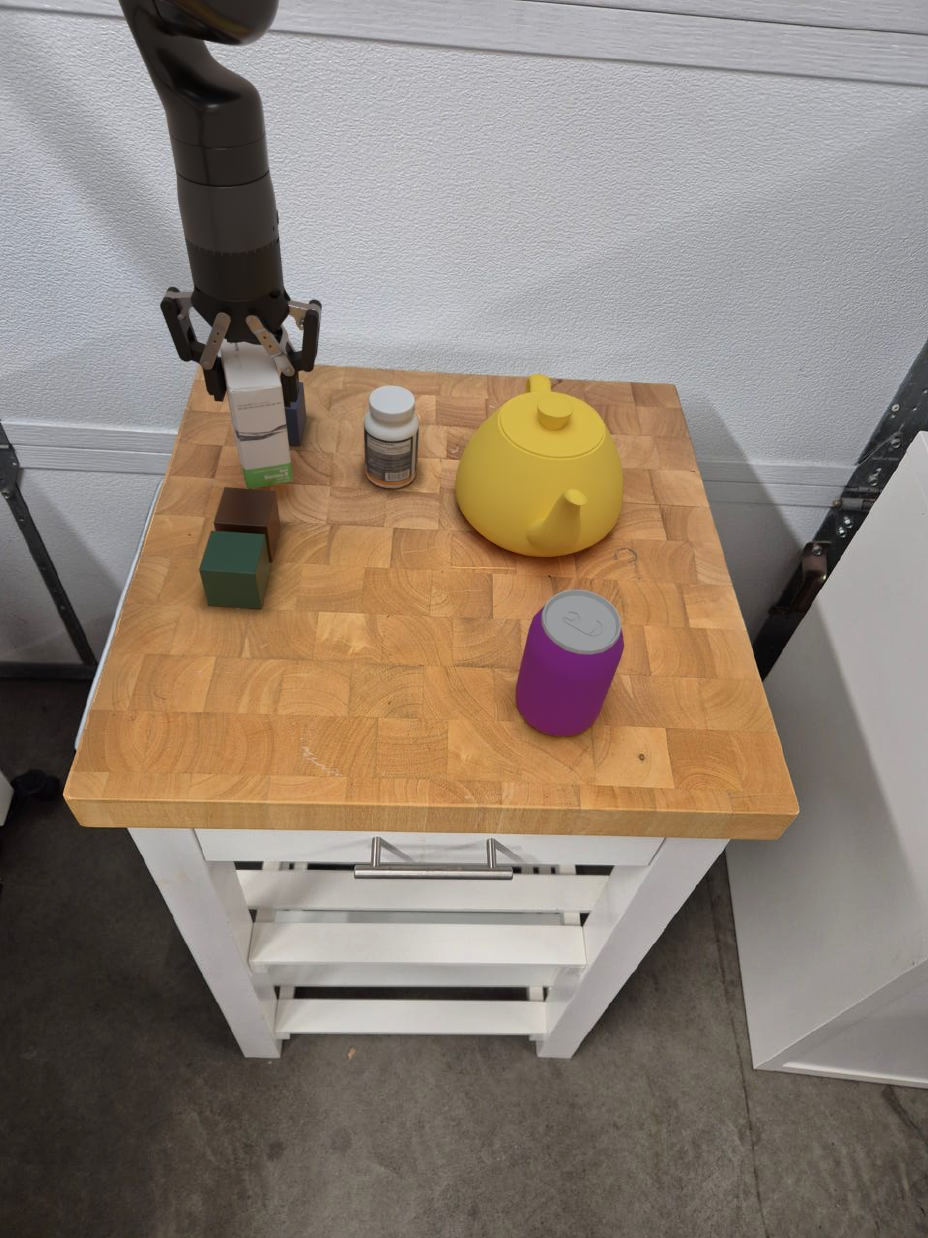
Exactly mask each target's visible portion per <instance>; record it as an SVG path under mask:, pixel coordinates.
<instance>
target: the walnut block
mask: <svg viewBox="0 0 928 1238" xmlns="http://www.w3.org/2000/svg"><path fill="white" fill-rule="evenodd" d="M213 526H214V531H224V532H238V533H252V534H264V535H265V538H266V544H267V551H268V557H269V563H273V562H274V558H275V555H276V554H275V553H276V550H277V545H278V541H279V537H280V533H281V528H282V526H281V519H280V510H279V503H278V496H277V491H276V490H270V489H259V488H252V489H248V488H246V487H245V488H243V487H231V486H230V487H229V486H224V488H223V491H222V494H221V497H220V501H219V503H218V507H217V510H216V513H215V516H214V519H213Z"/></svg>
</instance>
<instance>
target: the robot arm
mask: <svg viewBox="0 0 928 1238" xmlns="http://www.w3.org/2000/svg"><path fill="white" fill-rule="evenodd" d="M117 2H118V3H119V6H120V9H121V11H122V14H123V16H124V20H125V22H126V24H127V26H128V29H129V31H130V33H131V36H132V39H133V40H134V42H135V45H136V47H137V49H138V52H139V54H140V56H141V58H142V61H143V63H144V65H145V68H146V71H147V73H148V76H149V77H150V80H151V83H152V85H153V87H154V90H155V91H156V93H157V96H158V99H159V101H160V102H161V105H162V108H163V110H164V114H165V117H166V118H165V119H166V123H167V124H166V125H167V130H168V136H169V141H170V146H171V147H170V148H171V151H172V159H173V163H174V169H175V175H176V177H175V178H176V194H177V203H178V210H179V214H180V220H181V225H182V230H183V231H182V232H183V236H184V241H185V246H186V253H187V257H188V258H187V259H188V263H189V267H190V268H189V269H190V273H191V279H192V283H193V290H192V291H181V290H180V289H179V288H177V287H176V286H169V287H168V288H167V289H166V291H165V294H164V296H163V297H162V300H161V302H160V304H159V307H160V310H161V313H162V316H163V318H164V322H165V324H166V326H167V329H168V332H169V334H170V338H171V339H172V342H173V345H174V347H175V350H176V352H177V356H178V357H179V359H180V360H181V361H183V362H185V363H190V362H191V361H192V362H194V363H197V364H198V365H200V367H201V369H202V373H203V374H202V375H203V378H204V383H205V389H206V392H207V394H208V395H209V396H213V401H214V402H221V403H223V402H224V401H225V397H226V395H227V389H226V383H225V376H224V370H223V363H222V357H221V356H219V352H220V347H221V344H222V342H223V340H227V342H229V343H239V342H247V343H250V344H253V345H262V346H263V347H264V349H265V351H266V352H267V354H268V355H269V357H270V358H273V359H274V360H275V362H276V366H277V367H278V368H279V370H280V373H279V377H280V381H281V385H282V392H283V400H284V407H290V408H291V407H292V403H293V402H296V401H297V399H298V395H299V391H300V385H299V382H300V377H299V376H300V375H299V372H302V371H303V372H305V373H311V372H313V371H314V368H315V361H316V359H317V355H318V350H319V342H320V341H319V340H320V330H321V329H320V328H321V320H322V311H323V305H322V303H321V301H320V300H318V299H310V300H309V301H308V303H305V302H301V301H298V300H293V299H292V298H291V296H290V295H289V294H288V292H287V290H286V287H285V283H284V282H285V281H284V271H283V262H282V261H283V260H282V252H281V251H282V250H281V242H280V241H281V240H280V229H279V225H280V216H279V210H278V208H277V201H276V194H275V189H274V183H273V181H272V176H271V170H270V161H269V150H268V142H267V140H268V139H267V130H266V121H265V113H264V106H263V100H262V98H261V97H262V96H261V95H260V92H259V90H258V89H257V88H256V86H255V85H254V84H253V83H252V82H251V81H250V80H248V79H247V78H245V77H243V76H242V75H240V74H238V73H237V72H234V71H232V70H231V69H229V68H227V67H226V66H224V65H223V64H221V63H220V62H219V61H218V60H217V59H215V58H214V56H213V55H212V53H211V52H210V50H209V49H208V47H207V44H206V42H211V43H213V44H219V45H223V46H229V47H245V46H249V45H253V44H254V43H256V42H258V41H259V40H261V39H262V38H263V37H264V36H265V35H266V34H267V33H268V31H269V30H270V29H271V28H272V26H273V24H274V22H275V19H276V16H277V14H278V10H279V5H280V0H117ZM205 41H206V42H205ZM192 308H193V309H194V310H195V312H197V314H198V315H199V316H200V317H201V318H202V319H203V320H204V321H205V322H206V323H207V324H208V325H209V326H210V328H211V329H210V333H209V335H208V338H207V340H206V343H203V342H200V341H198V337H197V335H196V332H195V329H194V327H193V323H192V320H191V318H190V315H191V313H192V310H193V309H192ZM288 316H291V317H292V318H293V319H294V321H295V326H296V327H297V328H298V329H299V331H303V332H302V341H301V342H302V344H301V350H296V349H295V347H294V345H293V344H292V342H291V340H290V339H289V338H290V337H289V333H288V330H286V327H285V325H284V324H283V323H284V322H285V321H286V320H287V318H288Z"/></svg>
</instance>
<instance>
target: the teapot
mask: <svg viewBox="0 0 928 1238" xmlns="http://www.w3.org/2000/svg"><path fill="white" fill-rule="evenodd" d="M524 389H525V390H524V393H522V394H518V395H517V396H514V397H512V398H510V399H508V400H507V401H506V402H504V403H503V404H502V405H501V406H500V407H498V408H497V409H496V410H495V411H494V412H493V413H491V415H490V416H489V417H488V418H486V419H485V421H484V422H483V423H482V424H480V426H479V427H478V429H476V430H475V432H474V433H473V435H472V436H471V438H470V440H469V441H468V443H467V444H466V446H465V448H464V451H463V453H462V454H461V458H460V460H459V462H458V466H457V468H456V469H457V470H456V475H455V482H454V492H455V497H456V501H457V503H458V506H459V508H460V511H461V513H462V514H463V516H464V518H465V519H466V520H467V522H468V523H469V525H471V527H473V528H474V529H475V530H476V531H477V532H478V533H479V534H480V535H482V536H483V537H484V538H485V539H487V540H488V541H489V542H491V543H493V544H494V545H496V546H498V547H500V548H502V549H504V550H506V551H508V552H512V553H514V554H517V555H522V556H525V557H526V556H527V557H535V558H554V557H561V556H566V555H570V554H573V553H577V552H579V551H582V550H585V549H587V548H590V547H592V546H593V545H596V544H597V543H599V542H600V541H601V540H603V539H604V538H605V537H606V536H607V535H608V534H609V533H610V532H611V531H612V530H613V528H614V527H615V525H616V524H617V522H618V520H619V517H620V515H621V511H622V507H623V502H624V495H625V493H624V492H625V489H624V487H625V486H624V485H625V482H624V481H625V479H624V471H623V465H622V461H621V457H620V454H619V451H618V449H617V446H616V444H615V441H614V438H613V437H612V435H611V432H610V431H609V428H608V427H607V425H606V423H605V421H604V419H603V418H602V417H601V416H600V414H599V413H598V412H597V410H595V409H594V407H592V406H590V405H589V404H588V403H587V402H585V401H583V400H581V399H579V398H578V397H574V396H572V395H569V394H566V393H563V392H562V393H561V392H557V391H552V382H551V379H550V377H549V376H548V375H546V374H542V373H532V374H530V375H529V376H528V377H527V379H526V384H525V388H524Z"/></svg>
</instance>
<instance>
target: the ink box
mask: <svg viewBox="0 0 928 1238" xmlns="http://www.w3.org/2000/svg"><path fill="white" fill-rule="evenodd" d="M219 352H220V357H221V358H222V364H223V370H224V376H225V383H226V395H227V401H228V408H229V413H230V419H231V424H232V429H233V436H234V440H235V445H236V450H237V452H238V458H239V463H240V467H241V470H242V475H243V479H244V484H245V488H246V489H259V488H264V487H270V486H276V485H277V486H278V485H284V484H290V483H293V481H294V479H293V469H292V460H291V451H290V445H289V442H288V434H287V425H286V417H285V408H284V400H283V392H282V385H281V381H280V373H279V369H278V365H277V363H276V362H275V360H274V359H273V358H270V357H269V355H268V354H267V352H266V351H265V349H264V347H263V346H262V345H253V344H250V343H247V342H239V343H229V342H227V340H226V339H223V342H222V344H221V347H220V349H219Z"/></svg>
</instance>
